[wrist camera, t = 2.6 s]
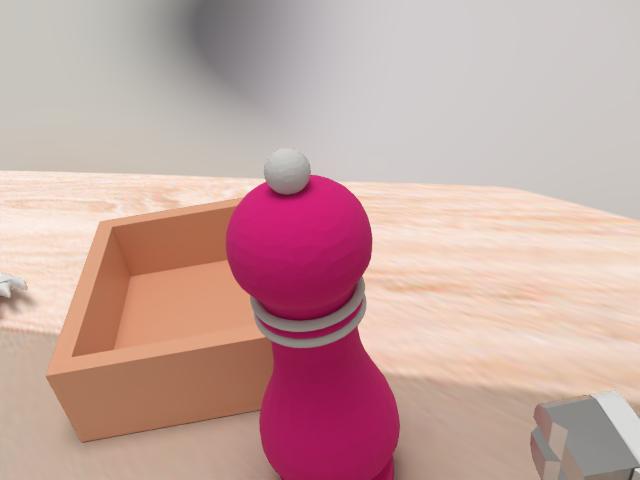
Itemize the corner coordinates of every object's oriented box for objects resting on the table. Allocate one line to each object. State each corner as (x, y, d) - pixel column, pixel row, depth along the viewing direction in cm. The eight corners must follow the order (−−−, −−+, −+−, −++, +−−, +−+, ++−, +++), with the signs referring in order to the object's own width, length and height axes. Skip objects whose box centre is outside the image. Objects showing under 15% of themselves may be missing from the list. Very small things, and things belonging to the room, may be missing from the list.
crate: (315, 246, 52) (306, 186, 49) (347, 394, 38) (338, 324, 34) (122, 279, 51) (99, 221, 48) (81, 442, 37) (45, 376, 34)
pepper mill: (388, 551, 29) (353, 206, 18) (254, 519, 32) (150, 194, 20) (413, 432, 35) (398, 112, 24) (298, 412, 37) (234, 111, 26)
